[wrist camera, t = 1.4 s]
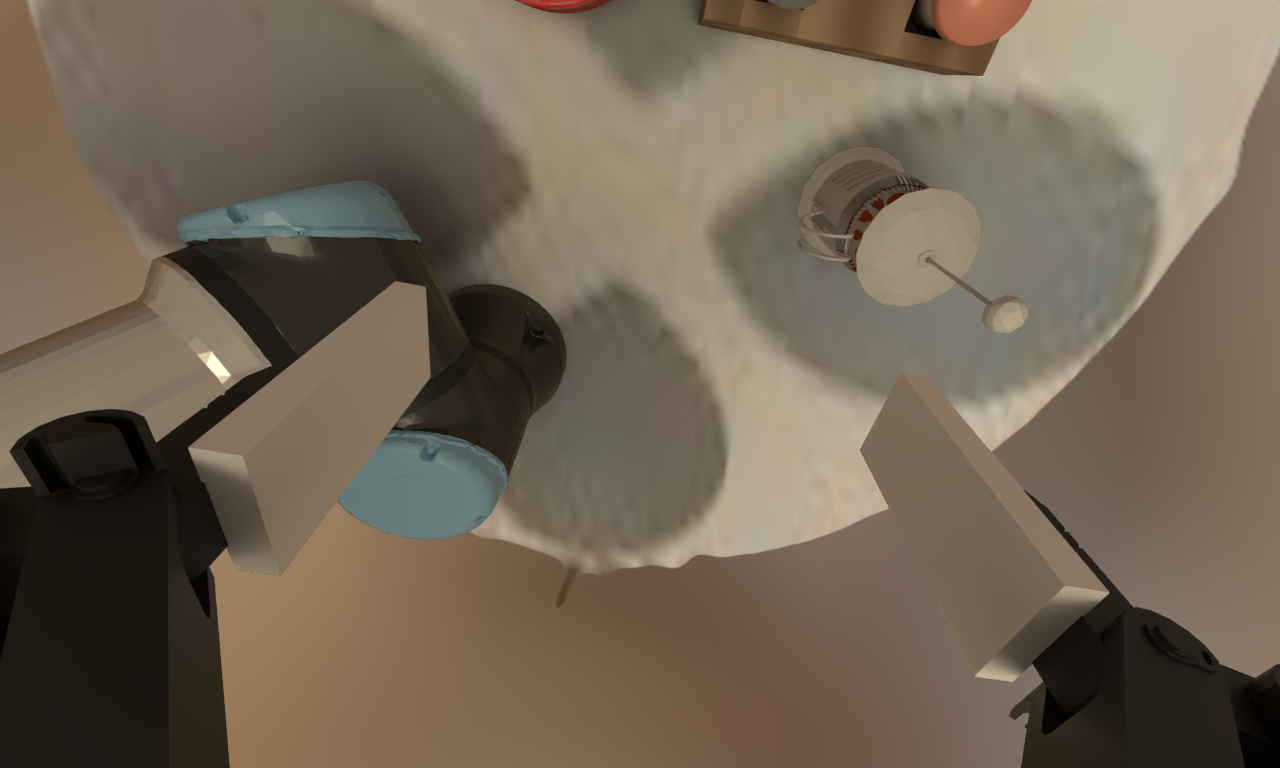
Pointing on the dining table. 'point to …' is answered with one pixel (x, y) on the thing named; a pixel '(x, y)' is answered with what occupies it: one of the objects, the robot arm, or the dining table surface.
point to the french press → (896, 232)
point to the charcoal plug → (792, 4)
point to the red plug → (968, 19)
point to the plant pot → (564, 5)
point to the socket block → (851, 32)
